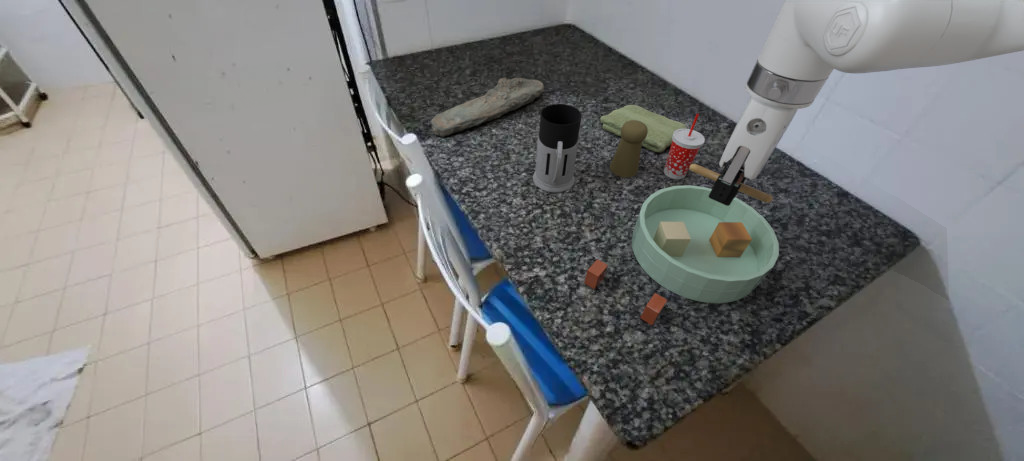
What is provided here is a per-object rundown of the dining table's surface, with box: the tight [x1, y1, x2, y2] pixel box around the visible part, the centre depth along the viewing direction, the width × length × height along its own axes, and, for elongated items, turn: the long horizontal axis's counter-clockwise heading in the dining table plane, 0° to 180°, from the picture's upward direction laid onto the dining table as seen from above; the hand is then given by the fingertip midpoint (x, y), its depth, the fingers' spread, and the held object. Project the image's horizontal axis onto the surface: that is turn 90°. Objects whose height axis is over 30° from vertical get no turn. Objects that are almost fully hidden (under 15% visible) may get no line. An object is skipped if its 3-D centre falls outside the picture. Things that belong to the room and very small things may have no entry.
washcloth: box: [599, 104, 688, 153], centre depth 94 cm, size 13×18×3 cm
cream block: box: [653, 222, 691, 257], centre depth 66 cm, size 4×4×4 cm
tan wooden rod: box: [689, 163, 774, 204], centre depth 57 cm, size 12×1×1 cm, turn 50°
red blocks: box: [584, 258, 668, 326], centre depth 60 cm, size 12×3×4 cm, turn 50°
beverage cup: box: [663, 113, 706, 180], centre depth 79 cm, size 6×6×14 cm
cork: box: [609, 120, 648, 179], centre depth 81 cm, size 6×6×11 cm
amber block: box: [709, 222, 752, 257], centre depth 66 cm, size 4×4×4 cm
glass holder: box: [532, 103, 583, 193], centre depth 75 cm, size 9×14×15 cm, turn 175°
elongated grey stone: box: [430, 77, 545, 138], centre depth 99 cm, size 35×5×10 cm
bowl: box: [631, 184, 780, 304], centre depth 66 cm, size 22×22×6 cm
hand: (721, 197), depth 59 cm, fingers closed on tan wooden rod, 1 cm apart
